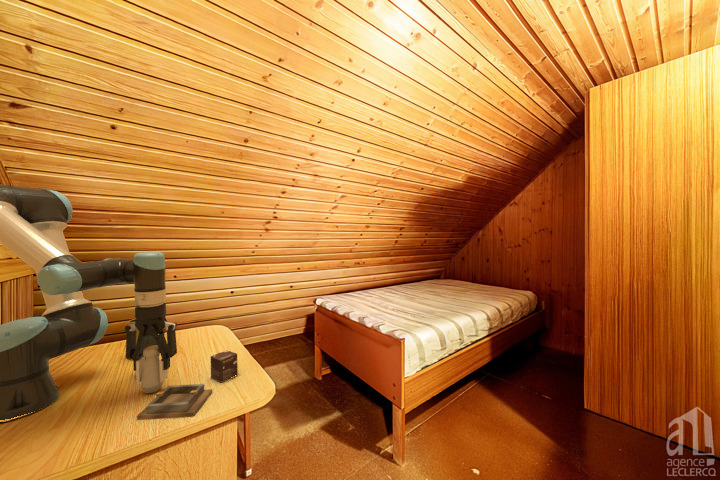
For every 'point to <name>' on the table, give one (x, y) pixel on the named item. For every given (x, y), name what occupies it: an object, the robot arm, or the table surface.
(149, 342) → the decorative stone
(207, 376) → the table surface
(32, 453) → the table surface
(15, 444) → the table surface
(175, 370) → the table surface
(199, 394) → the base
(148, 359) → the salt shaker
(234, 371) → the box
